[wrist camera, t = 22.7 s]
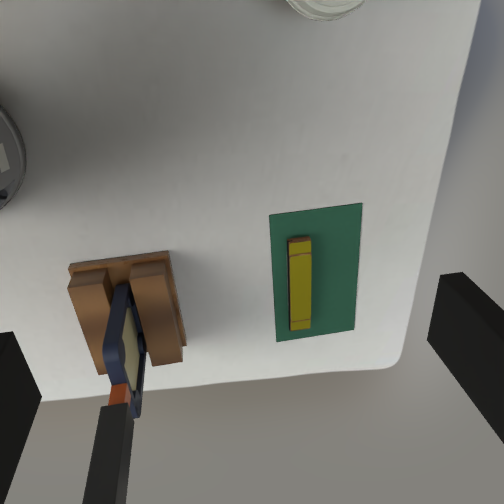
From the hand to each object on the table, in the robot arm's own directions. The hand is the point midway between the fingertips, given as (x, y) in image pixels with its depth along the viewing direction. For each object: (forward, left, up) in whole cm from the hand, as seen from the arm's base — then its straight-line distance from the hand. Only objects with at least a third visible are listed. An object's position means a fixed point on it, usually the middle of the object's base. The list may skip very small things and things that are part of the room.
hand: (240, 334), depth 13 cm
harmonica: (+10, -24, -35) cm, 44 cm away
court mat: (+13, -24, -37) cm, 46 cm away
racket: (-12, -25, -36) cm, 45 cm away
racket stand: (-12, -24, -37) cm, 46 cm away
